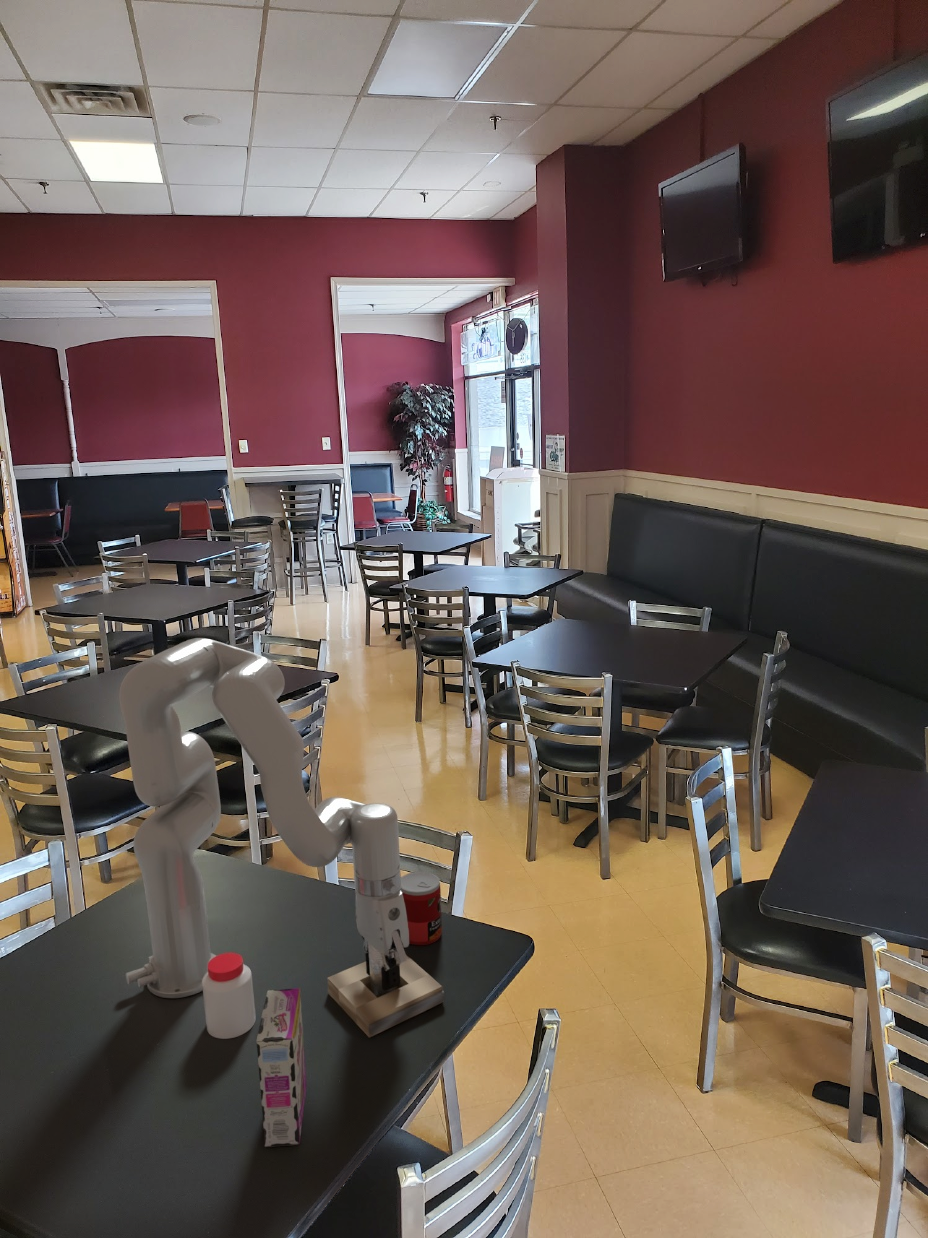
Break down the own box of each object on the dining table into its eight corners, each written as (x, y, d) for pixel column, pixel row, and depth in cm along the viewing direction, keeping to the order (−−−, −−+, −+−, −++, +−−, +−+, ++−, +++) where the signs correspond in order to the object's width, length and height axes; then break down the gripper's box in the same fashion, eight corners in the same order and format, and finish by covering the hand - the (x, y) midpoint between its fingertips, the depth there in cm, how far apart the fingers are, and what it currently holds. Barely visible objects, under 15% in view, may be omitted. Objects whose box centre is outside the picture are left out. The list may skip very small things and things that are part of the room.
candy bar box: (302, 1146, 118) (293, 1039, 114) (264, 1149, 118) (254, 1042, 114) (309, 1085, 129) (301, 986, 125) (274, 1088, 128) (265, 988, 125)
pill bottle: (212, 1045, 138) (205, 983, 135) (202, 1017, 145) (195, 957, 142) (261, 1029, 141) (255, 968, 139) (249, 1002, 148) (243, 943, 146)
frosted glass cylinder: (379, 1005, 145) (376, 950, 143) (366, 991, 148) (363, 938, 146) (402, 994, 147) (399, 941, 145) (388, 981, 151) (386, 929, 149)
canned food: (437, 948, 161) (435, 893, 159) (395, 944, 163) (392, 890, 161) (446, 925, 169) (444, 872, 166) (406, 921, 170) (403, 870, 168)
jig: (371, 1039, 138) (370, 1023, 137) (328, 993, 150) (327, 977, 149) (444, 1004, 146) (444, 988, 145) (398, 962, 157) (398, 947, 157)
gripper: (425, 893, 139) (429, 996, 142) (372, 853, 152) (377, 948, 156) (384, 909, 134) (390, 1014, 138) (333, 867, 148) (339, 964, 152)
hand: (383, 978), depth 147 cm, fingers closed on frosted glass cylinder, 4 cm apart
